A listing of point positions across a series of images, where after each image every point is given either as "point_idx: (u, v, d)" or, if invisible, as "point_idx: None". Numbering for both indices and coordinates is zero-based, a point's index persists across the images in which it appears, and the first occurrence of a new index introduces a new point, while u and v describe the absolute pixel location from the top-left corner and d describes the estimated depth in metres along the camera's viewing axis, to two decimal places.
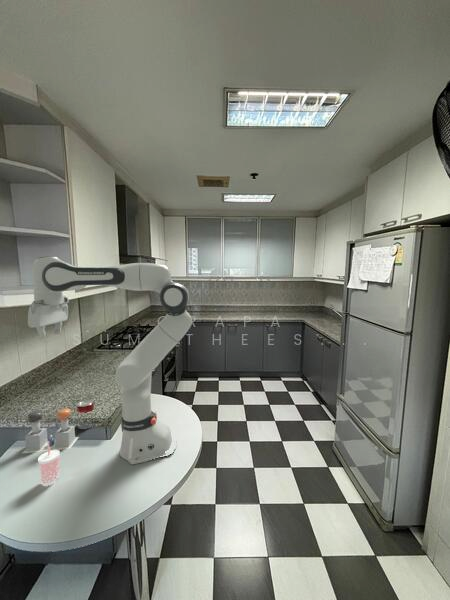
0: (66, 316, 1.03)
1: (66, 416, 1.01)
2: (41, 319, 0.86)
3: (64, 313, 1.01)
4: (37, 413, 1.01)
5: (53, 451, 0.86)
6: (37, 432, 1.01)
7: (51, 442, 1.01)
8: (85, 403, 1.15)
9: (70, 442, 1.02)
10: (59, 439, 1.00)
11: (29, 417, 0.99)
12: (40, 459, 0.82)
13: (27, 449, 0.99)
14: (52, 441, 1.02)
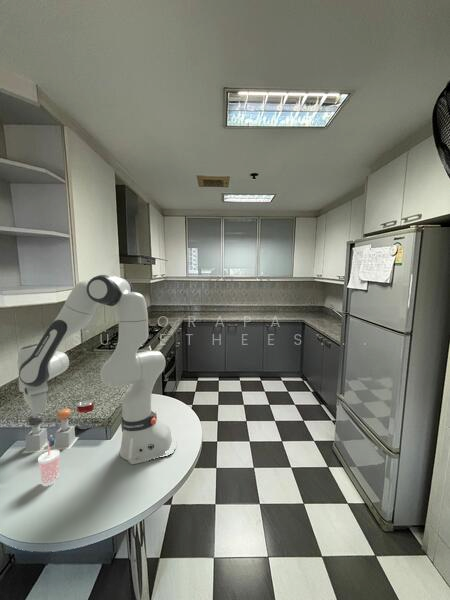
0: (33, 409, 0.94)
1: (66, 416, 1.01)
2: (24, 394, 1.05)
3: None
4: None
5: (53, 451, 0.86)
6: None
7: (51, 442, 1.01)
8: (85, 403, 1.15)
9: (70, 442, 1.02)
10: (59, 439, 1.00)
11: (29, 420, 0.99)
12: (40, 459, 0.82)
13: (27, 449, 0.99)
14: (52, 441, 1.02)
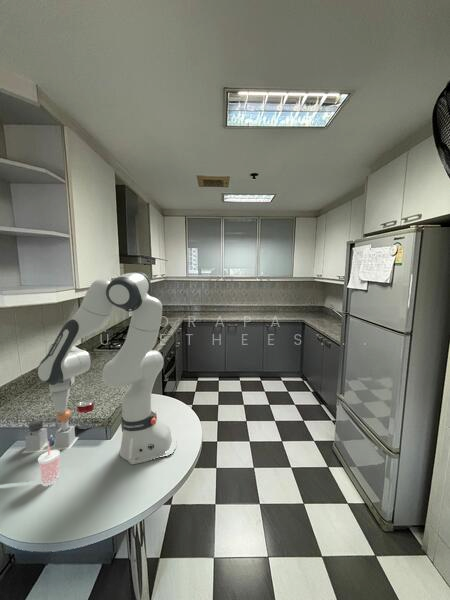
0: None
1: (66, 417, 1.01)
2: None
3: None
4: (38, 422, 1.01)
5: (53, 451, 0.86)
6: None
7: (51, 442, 1.01)
8: (85, 403, 1.15)
9: (70, 442, 1.02)
10: (59, 439, 1.00)
11: (29, 426, 0.99)
12: (40, 459, 0.82)
13: (27, 449, 0.99)
14: (52, 441, 1.02)
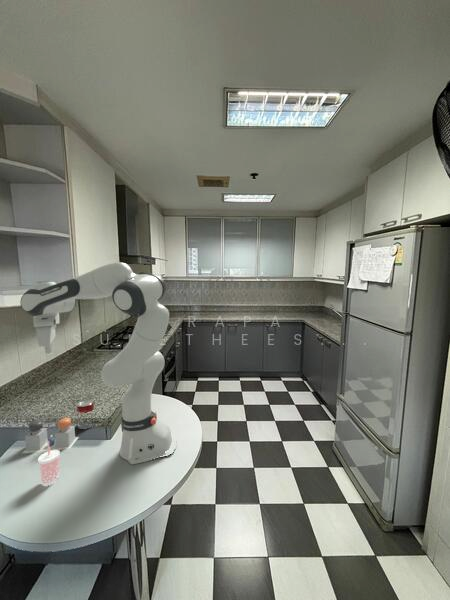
0: None
1: (66, 425, 1.01)
2: None
3: None
4: (38, 422, 1.01)
5: (53, 451, 0.86)
6: None
7: (51, 442, 1.01)
8: (85, 403, 1.15)
9: (70, 442, 1.02)
10: (59, 439, 1.00)
11: (29, 426, 0.99)
12: (40, 459, 0.82)
13: (27, 449, 0.99)
14: (52, 441, 1.02)
